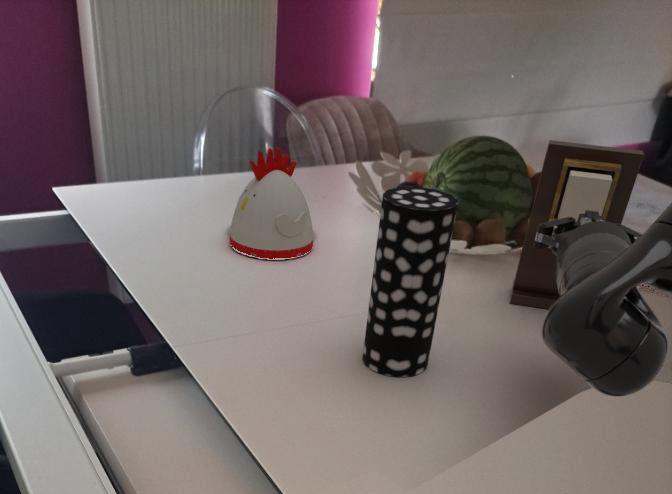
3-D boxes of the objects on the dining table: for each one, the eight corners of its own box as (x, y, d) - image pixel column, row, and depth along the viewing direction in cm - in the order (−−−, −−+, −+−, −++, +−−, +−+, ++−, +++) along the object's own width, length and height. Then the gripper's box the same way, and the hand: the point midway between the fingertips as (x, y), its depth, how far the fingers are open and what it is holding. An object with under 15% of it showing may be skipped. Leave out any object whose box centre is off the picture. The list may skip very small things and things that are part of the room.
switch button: (557, 216, 101) (570, 170, 97) (597, 222, 100) (611, 175, 96) (557, 222, 99) (570, 175, 95) (597, 227, 98) (612, 180, 94)
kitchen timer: (215, 238, 125) (213, 141, 115) (283, 226, 131) (287, 133, 121) (258, 266, 116) (260, 164, 107) (328, 252, 122) (337, 154, 113)
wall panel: (511, 288, 114) (549, 136, 101) (591, 300, 112) (641, 147, 98) (509, 303, 110) (549, 146, 96) (593, 316, 108) (645, 158, 94)
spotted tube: (348, 357, 94) (367, 194, 81) (392, 339, 99) (416, 182, 86) (397, 384, 90) (424, 215, 77) (440, 364, 94) (473, 201, 81)
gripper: (677, 243, 72) (658, 193, 85) (539, 224, 75) (541, 179, 88) (649, 315, 77) (635, 258, 90) (521, 295, 80) (525, 242, 93)
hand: (589, 219), depth 89 cm, fingers closed
